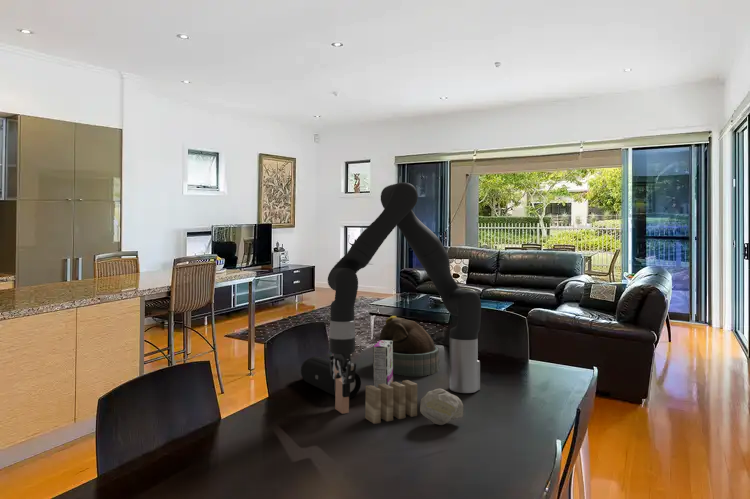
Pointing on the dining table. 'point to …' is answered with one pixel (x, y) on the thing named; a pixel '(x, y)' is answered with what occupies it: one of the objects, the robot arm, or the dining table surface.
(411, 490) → the dining table surface
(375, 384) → the candy bar box
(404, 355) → the elephant in basket
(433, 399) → the fossil replica
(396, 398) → the tile
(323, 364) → the portable speaker
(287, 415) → the dining table surface
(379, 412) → the tile
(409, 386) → the tile
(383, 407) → the tile
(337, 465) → the dining table surface
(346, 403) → the tile
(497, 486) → the dining table surface
